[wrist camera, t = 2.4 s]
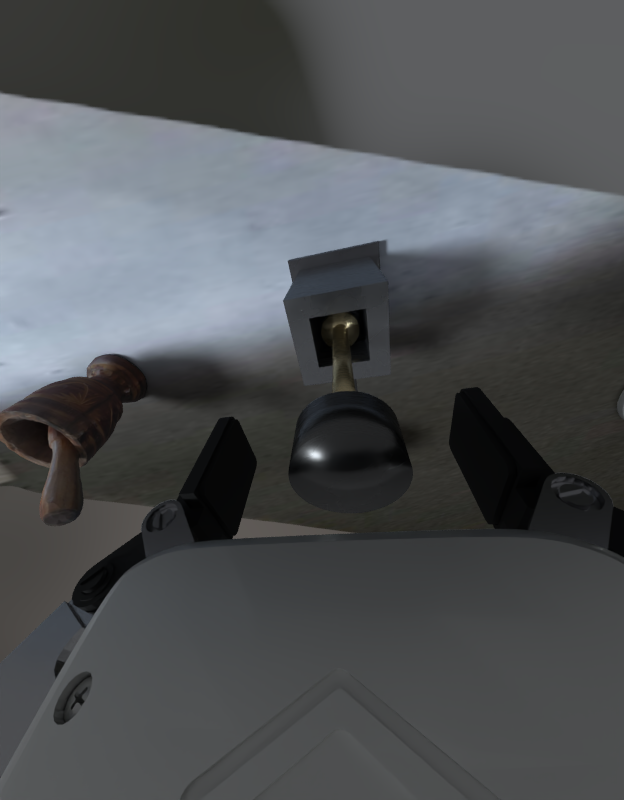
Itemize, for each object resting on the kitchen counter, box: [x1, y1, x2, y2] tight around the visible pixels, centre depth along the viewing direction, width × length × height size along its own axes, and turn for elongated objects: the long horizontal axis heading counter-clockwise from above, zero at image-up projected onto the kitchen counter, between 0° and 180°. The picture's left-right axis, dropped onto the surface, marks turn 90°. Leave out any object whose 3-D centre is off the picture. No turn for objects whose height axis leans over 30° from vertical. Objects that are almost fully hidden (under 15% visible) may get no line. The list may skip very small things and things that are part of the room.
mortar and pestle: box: [0, 355, 147, 526], centre depth 30 cm, size 12×9×20 cm
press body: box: [283, 241, 391, 392], centre depth 25 cm, size 9×11×12 cm
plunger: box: [289, 312, 413, 513], centre depth 16 cm, size 4×4×15 cm
